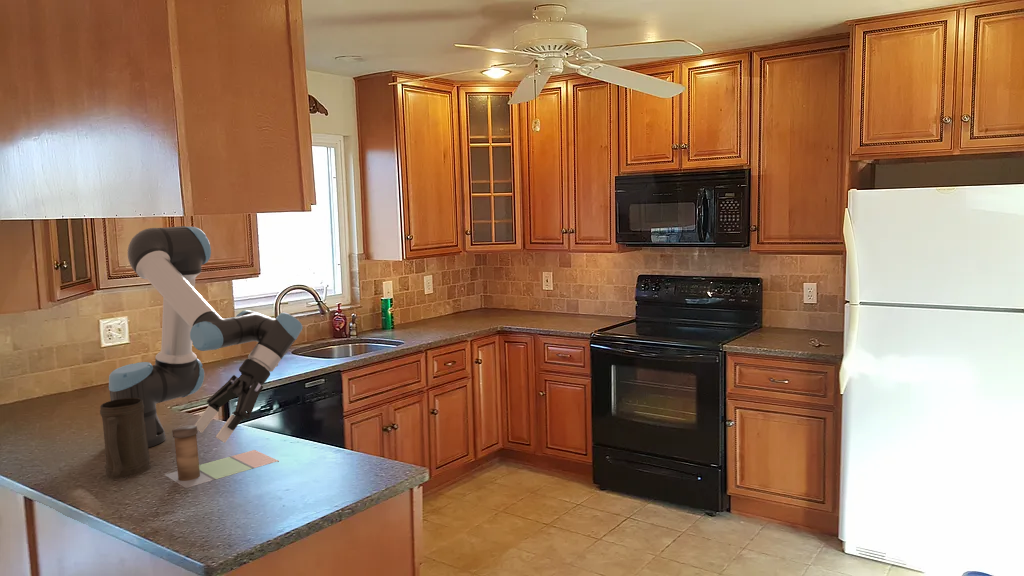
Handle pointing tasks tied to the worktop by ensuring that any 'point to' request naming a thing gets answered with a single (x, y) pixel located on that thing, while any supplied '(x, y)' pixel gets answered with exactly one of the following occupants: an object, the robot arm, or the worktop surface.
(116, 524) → the worktop surface
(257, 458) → the gauge board
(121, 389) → the robot arm
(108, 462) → the beer stein
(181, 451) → the wooden dark-capped post
